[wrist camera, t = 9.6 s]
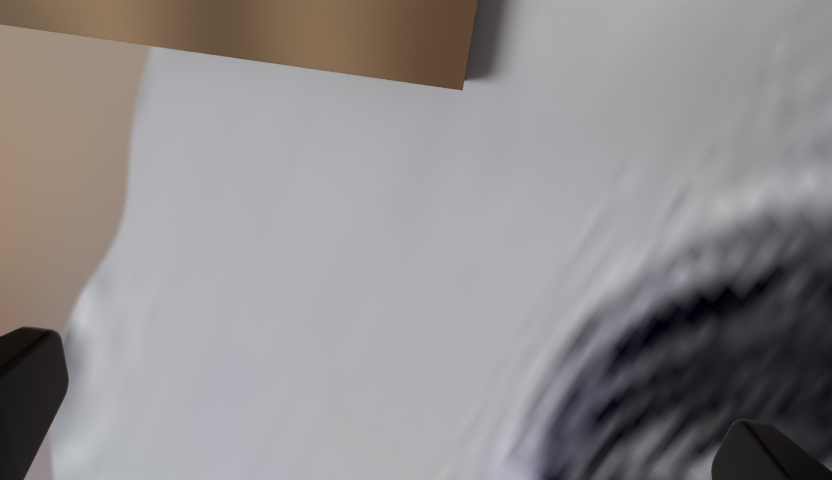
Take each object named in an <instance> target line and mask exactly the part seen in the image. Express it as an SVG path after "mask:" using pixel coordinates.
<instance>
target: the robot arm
mask: <svg viewBox="0 0 832 480" xmlns="http://www.w3.org/2000/svg"><path fill="white" fill-rule="evenodd" d="M68 382H69V378H68V371H67V366H66V360H65V354H64V349H63V343H62V339H61V336H60V335H59V333H58V332H57V331H55V330H52V329H45V328H37V327H21V328H19V329H16V330H14V331H12V332H10V333H7V334H5V335H3V336H1V337H0V480H24V478H25V476H26V474H27V472H28V470H29V468H30V466H31V464H32V462H33V460H34V458H35V456H36V454H37V452H38V450H39V448H40V446H41V444H42V442H43V440H44V438H45V436H46V434H47V432H48V430H49V428H50V426H51V424H52V422H53V420H54V418H55V416H56V414H57V412H58V410H59V408H60V406H61V404H62V402H63V400H64V397H65V395H66V392H67V389H68ZM711 473H712V480H832V471H831V470H829V469H828V468H827V467H826V466H824V465H823V464H822V463H820V462H819V461H818V460H817V459H815V458H814V457H813V456H812V455H810V454H809V453H808V452H806V451H805V450H804V449H803V448H801V447H800V446H799V445H798V444H796V443H795V442H794V441H792V440H791V439H790V438H789V437H787V436H786V435H785V434H784V433H782V432H781V431H780V430H778V429H777V428H776V427H775V426H773V425H772V424H770V423H767V422H763V421H756V420H748V419H738V420H736V421H735V422H733V423H732V425H731V426H730V428H729V430H728V432H727V434H726V436H725V438H724V440H723V442H722V444H721V446H720V448H719V450H718V451H717V453H716V455H715V457H714V460H713V463H712V470H711Z"/></svg>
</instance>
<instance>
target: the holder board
mask: <svg viewBox="0 0 832 480" xmlns="http://www.w3.org/2000/svg"><path fill="white" fill-rule="evenodd" d="M477 2H478V0H0V24H2V25H9V26H16V27H23V28H29V29H36V30H44V31H50V32H59V33H65V34H72V35H79V36H85V37H93V38H100V39H107V40H114V41H121V42H128V43H135V44H142V45H148V46H155V47H162V48H169V49H176V50H183V51H190V52H198V53H205V54H212V55H219V56H226V57H233V58H240V59H247V60H254V61H261V62H268V63H275V64H282V65H289V66H296V67H303V68H310V69H317V70H324V71H331V72H338V73H345V74H352V75H359V76H366V77H373V78H380V79H387V80H394V81H401V82H408V83H415V84H422V85H429V86H436V87H443V88H450V89H457V90H463V84H464V78H465V73H466V67H467V61H468V55H469V49H470V43H471V37H472V32H473V26H474V20H475V14H476V8H477Z"/></svg>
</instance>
